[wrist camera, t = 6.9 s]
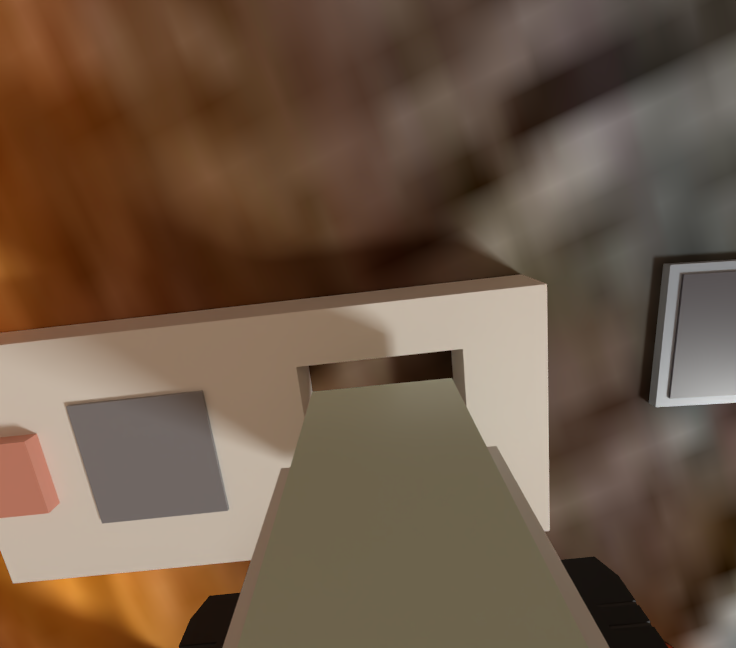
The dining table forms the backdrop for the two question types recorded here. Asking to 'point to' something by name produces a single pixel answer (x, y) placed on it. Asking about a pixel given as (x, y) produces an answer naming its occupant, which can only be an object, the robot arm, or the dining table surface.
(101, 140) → the dining table surface
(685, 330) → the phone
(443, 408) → the block
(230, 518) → the power strip
